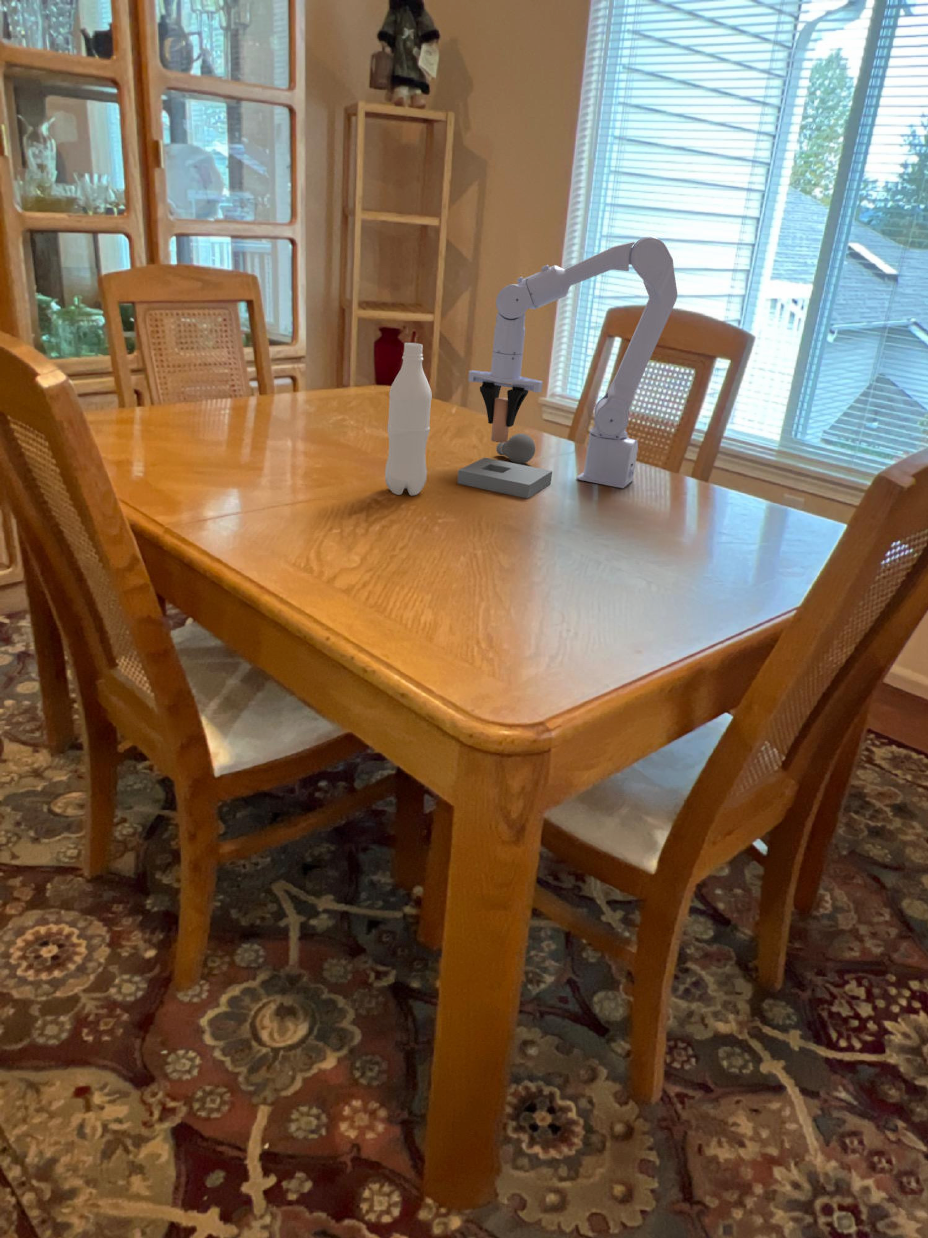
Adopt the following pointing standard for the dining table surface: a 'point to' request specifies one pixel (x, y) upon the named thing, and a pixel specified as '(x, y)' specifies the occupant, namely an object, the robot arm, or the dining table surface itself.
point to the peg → (500, 421)
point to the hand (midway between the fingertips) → (500, 424)
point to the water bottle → (408, 424)
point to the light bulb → (517, 448)
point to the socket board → (505, 477)
